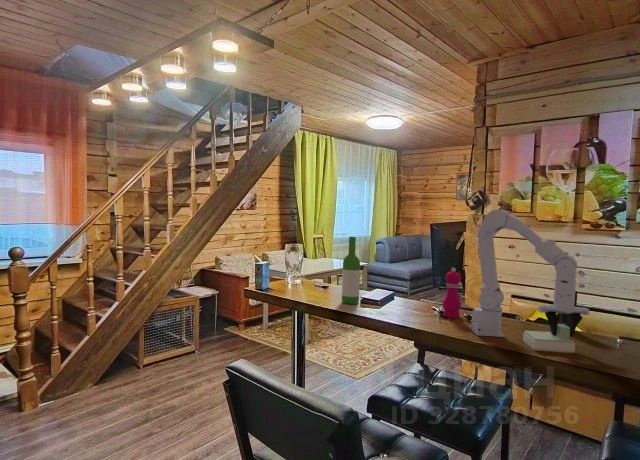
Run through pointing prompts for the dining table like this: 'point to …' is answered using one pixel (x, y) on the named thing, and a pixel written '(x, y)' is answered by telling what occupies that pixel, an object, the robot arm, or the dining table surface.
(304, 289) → the dining table surface
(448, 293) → the pepper mill
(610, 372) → the dining table surface
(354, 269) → the wine bottle
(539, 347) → the tub
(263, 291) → the dining table surface
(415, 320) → the dining table surface
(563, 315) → the deodorant
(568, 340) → the lid
